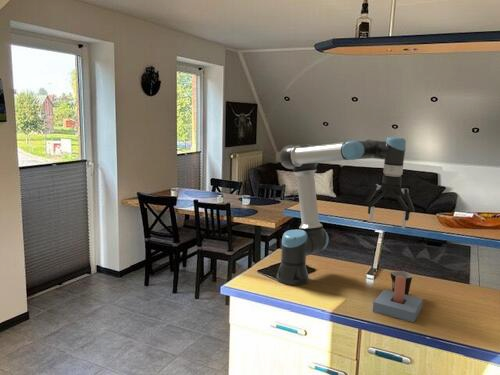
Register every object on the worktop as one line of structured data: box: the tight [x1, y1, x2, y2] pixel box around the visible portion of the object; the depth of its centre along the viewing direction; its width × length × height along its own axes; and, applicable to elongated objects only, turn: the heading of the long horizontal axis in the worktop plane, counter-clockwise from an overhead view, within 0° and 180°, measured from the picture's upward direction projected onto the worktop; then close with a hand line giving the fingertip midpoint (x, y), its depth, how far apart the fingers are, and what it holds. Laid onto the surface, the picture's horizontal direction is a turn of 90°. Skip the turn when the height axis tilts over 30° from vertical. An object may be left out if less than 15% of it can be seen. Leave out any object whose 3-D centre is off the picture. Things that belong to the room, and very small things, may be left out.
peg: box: [393, 275, 406, 304], centre depth 172 cm, size 4×4×14 cm
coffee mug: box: [390, 270, 413, 295], centre depth 187 cm, size 12×9×10 cm
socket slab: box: [372, 288, 424, 323], centre depth 173 cm, size 16×16×4 cm
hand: (386, 224), depth 177 cm, fingers open, 13 cm apart
